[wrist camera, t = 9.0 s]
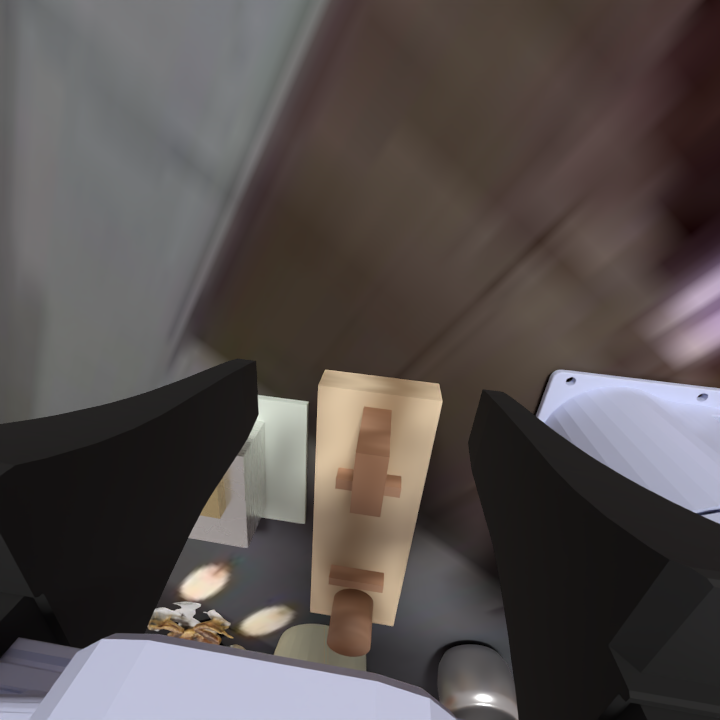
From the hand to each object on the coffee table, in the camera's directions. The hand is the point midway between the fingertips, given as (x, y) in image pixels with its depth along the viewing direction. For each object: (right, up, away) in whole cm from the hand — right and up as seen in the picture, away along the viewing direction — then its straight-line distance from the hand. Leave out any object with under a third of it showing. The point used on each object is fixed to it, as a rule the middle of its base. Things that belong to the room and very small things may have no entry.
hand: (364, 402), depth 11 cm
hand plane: (0, -10, +15) cm, 18 cm away
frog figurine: (-16, -27, +26) cm, 41 cm away
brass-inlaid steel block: (-9, -6, +14) cm, 18 cm away
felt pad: (-8, -6, +14) cm, 17 cm away
